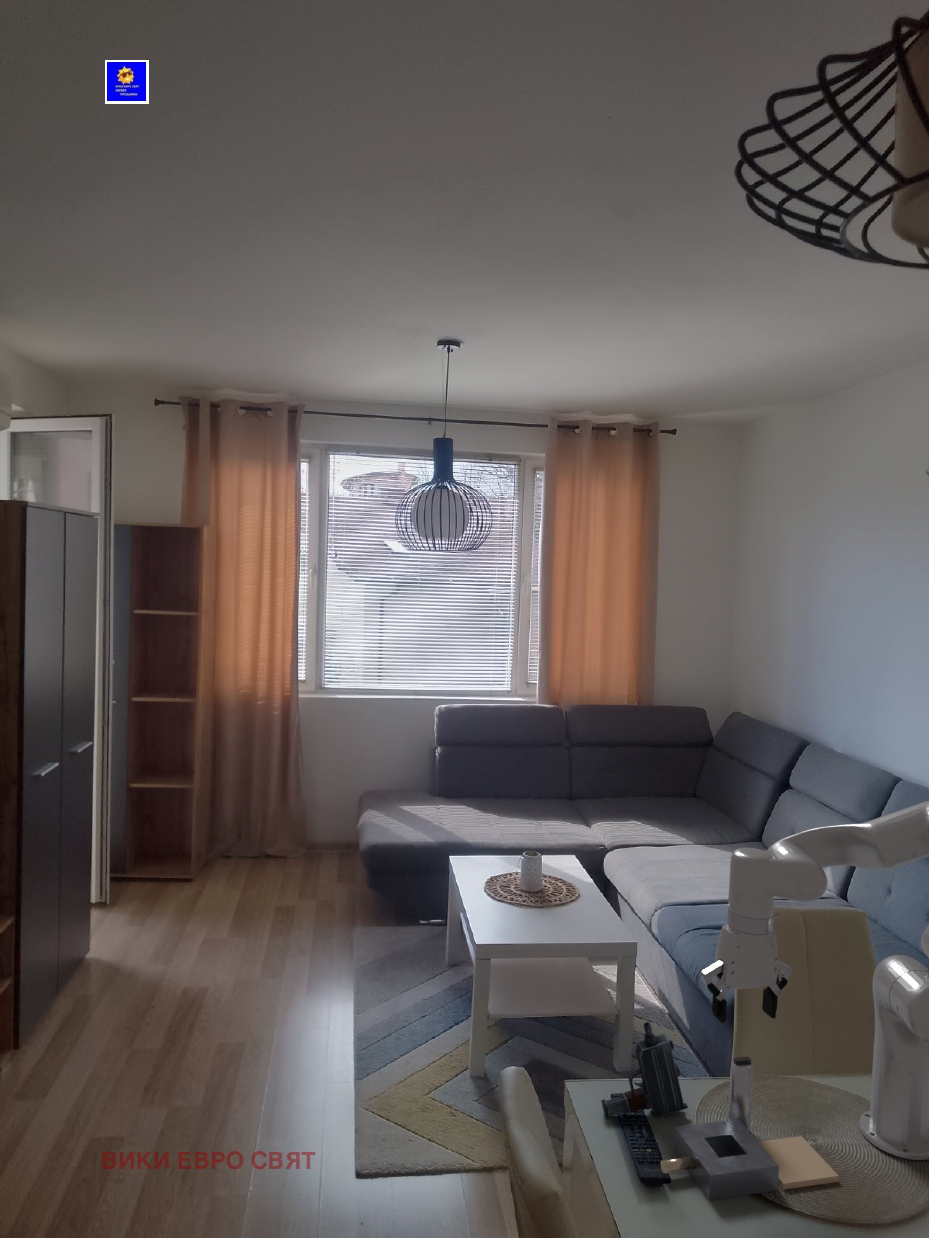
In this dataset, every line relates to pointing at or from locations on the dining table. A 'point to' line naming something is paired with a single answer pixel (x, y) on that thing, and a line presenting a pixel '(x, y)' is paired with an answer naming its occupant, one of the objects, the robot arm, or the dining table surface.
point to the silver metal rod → (741, 1090)
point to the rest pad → (798, 1163)
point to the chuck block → (723, 1159)
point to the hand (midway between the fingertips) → (744, 1016)
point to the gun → (651, 1080)
